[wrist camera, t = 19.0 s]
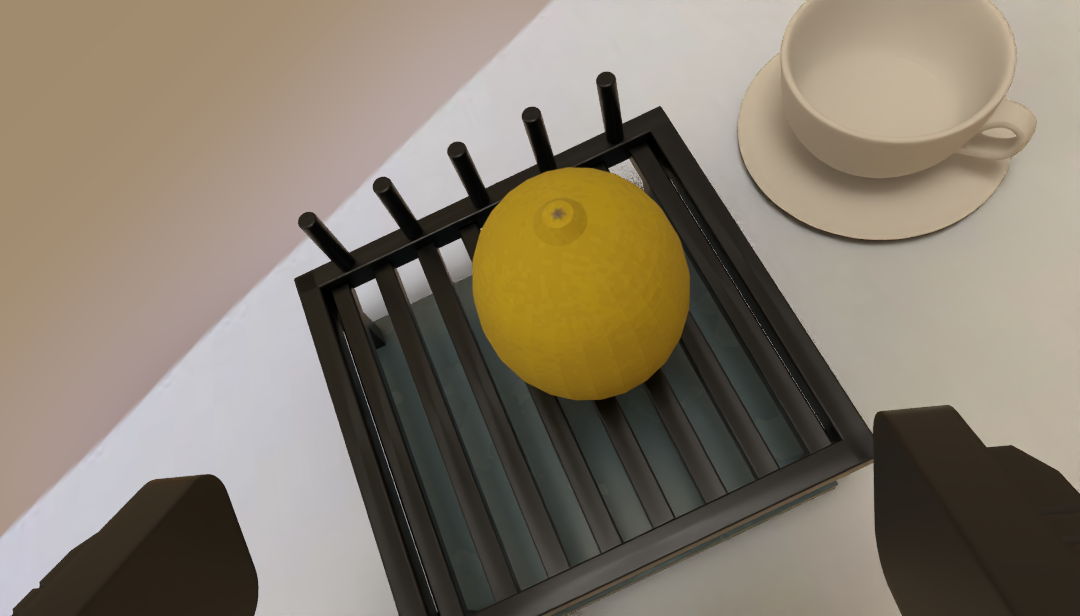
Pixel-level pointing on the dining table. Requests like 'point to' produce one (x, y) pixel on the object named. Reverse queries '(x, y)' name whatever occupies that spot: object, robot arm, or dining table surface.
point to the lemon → (581, 283)
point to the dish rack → (569, 404)
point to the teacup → (885, 115)
